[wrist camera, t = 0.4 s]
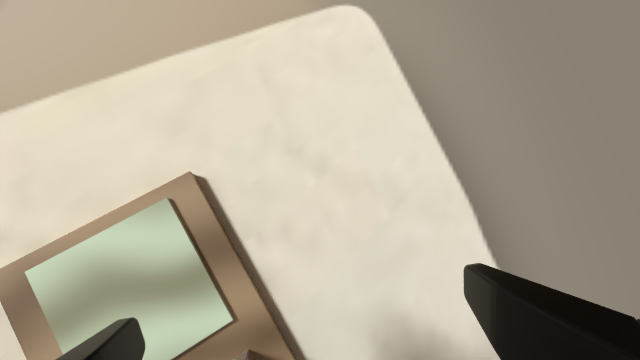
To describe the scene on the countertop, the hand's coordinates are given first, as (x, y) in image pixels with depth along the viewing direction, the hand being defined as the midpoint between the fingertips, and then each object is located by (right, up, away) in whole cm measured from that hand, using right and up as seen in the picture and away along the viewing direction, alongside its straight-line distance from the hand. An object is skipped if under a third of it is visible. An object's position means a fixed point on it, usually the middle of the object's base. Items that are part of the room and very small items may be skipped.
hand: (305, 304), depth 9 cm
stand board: (-9, -9, +12) cm, 17 cm away
